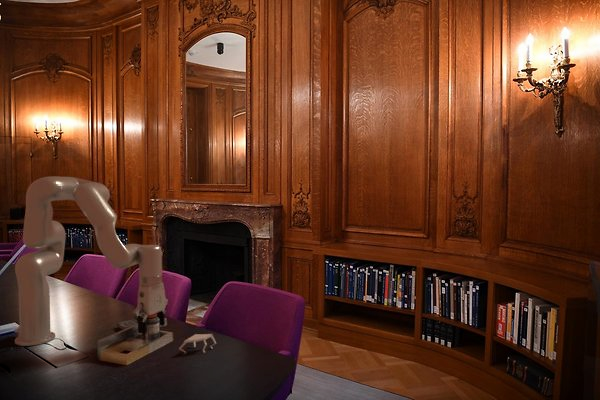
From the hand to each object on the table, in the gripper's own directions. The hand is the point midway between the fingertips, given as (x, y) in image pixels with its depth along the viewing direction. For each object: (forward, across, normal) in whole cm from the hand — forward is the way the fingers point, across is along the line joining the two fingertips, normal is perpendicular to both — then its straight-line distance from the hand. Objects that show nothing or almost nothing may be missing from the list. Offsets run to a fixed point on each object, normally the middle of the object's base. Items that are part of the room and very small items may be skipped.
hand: (151, 328), depth 162 cm
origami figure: (+6, 0, -18) cm, 19 cm away
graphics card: (+6, +15, +17) cm, 23 cm away
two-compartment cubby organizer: (+5, -7, 0) cm, 9 cm away
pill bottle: (+6, 0, 0) cm, 6 cm away
